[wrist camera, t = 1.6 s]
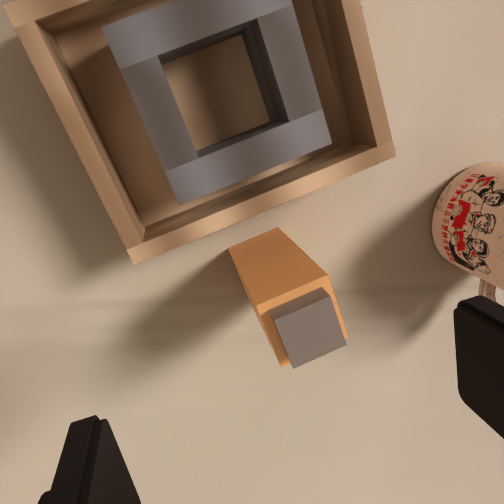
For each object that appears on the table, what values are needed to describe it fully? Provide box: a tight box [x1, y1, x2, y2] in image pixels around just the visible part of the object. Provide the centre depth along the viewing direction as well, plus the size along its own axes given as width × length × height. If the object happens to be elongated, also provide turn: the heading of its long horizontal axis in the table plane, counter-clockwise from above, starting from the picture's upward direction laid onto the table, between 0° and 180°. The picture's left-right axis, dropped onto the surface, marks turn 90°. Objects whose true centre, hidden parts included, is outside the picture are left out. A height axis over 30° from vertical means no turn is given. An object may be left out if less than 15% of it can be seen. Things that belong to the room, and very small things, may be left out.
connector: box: [228, 228, 348, 369], centre depth 26 cm, size 4×4×11 cm
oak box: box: [2, 0, 396, 265], centre depth 25 cm, size 17×14×6 cm
